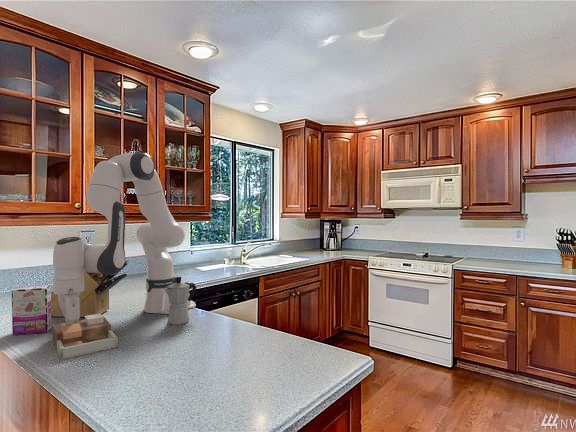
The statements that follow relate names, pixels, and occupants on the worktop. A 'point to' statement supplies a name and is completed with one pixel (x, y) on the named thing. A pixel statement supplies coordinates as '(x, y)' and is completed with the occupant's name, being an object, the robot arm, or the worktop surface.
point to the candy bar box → (31, 310)
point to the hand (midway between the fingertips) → (69, 327)
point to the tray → (87, 347)
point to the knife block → (91, 294)
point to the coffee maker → (179, 301)
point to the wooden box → (83, 332)
